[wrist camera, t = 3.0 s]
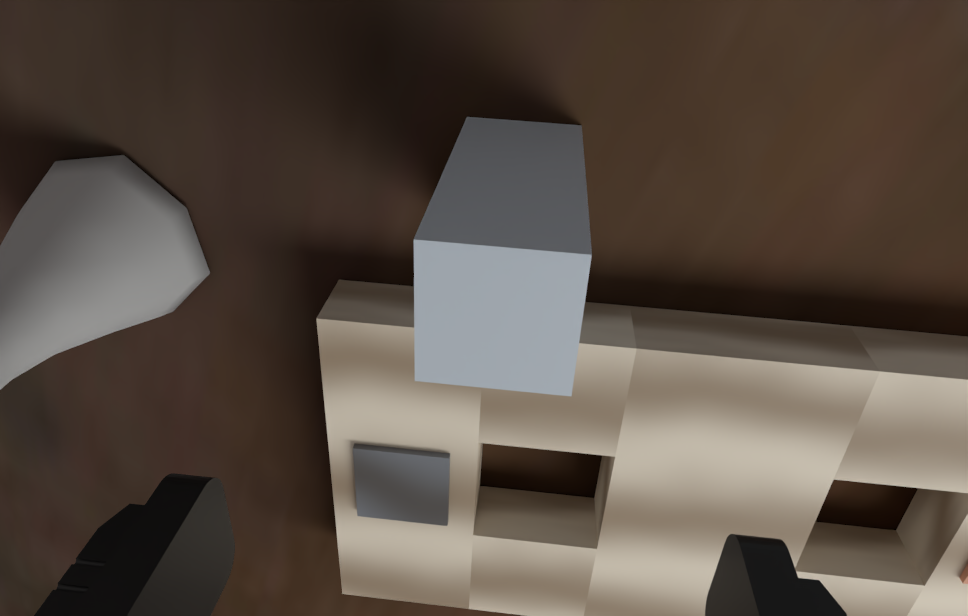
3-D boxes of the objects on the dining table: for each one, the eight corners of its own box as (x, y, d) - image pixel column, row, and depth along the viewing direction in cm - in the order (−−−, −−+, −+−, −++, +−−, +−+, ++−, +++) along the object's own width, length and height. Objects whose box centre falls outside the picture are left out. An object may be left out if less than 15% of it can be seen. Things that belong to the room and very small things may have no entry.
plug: (466, 116, 24) (413, 239, 15) (581, 125, 24) (591, 254, 15) (463, 221, 26) (414, 380, 18) (568, 230, 26) (571, 396, 17)
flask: (243, 280, 28) (107, 445, 20) (113, 333, 31) (-59, 503, 22) (130, 120, 25) (-89, 236, 17) (-5, 193, 27) (-260, 328, 19)
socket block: (338, 279, 28) (313, 322, 25) (1168, 354, 26) (1241, 410, 23) (358, 544, 36) (340, 599, 33) (986, 616, 34) (1024, 680, 31)
